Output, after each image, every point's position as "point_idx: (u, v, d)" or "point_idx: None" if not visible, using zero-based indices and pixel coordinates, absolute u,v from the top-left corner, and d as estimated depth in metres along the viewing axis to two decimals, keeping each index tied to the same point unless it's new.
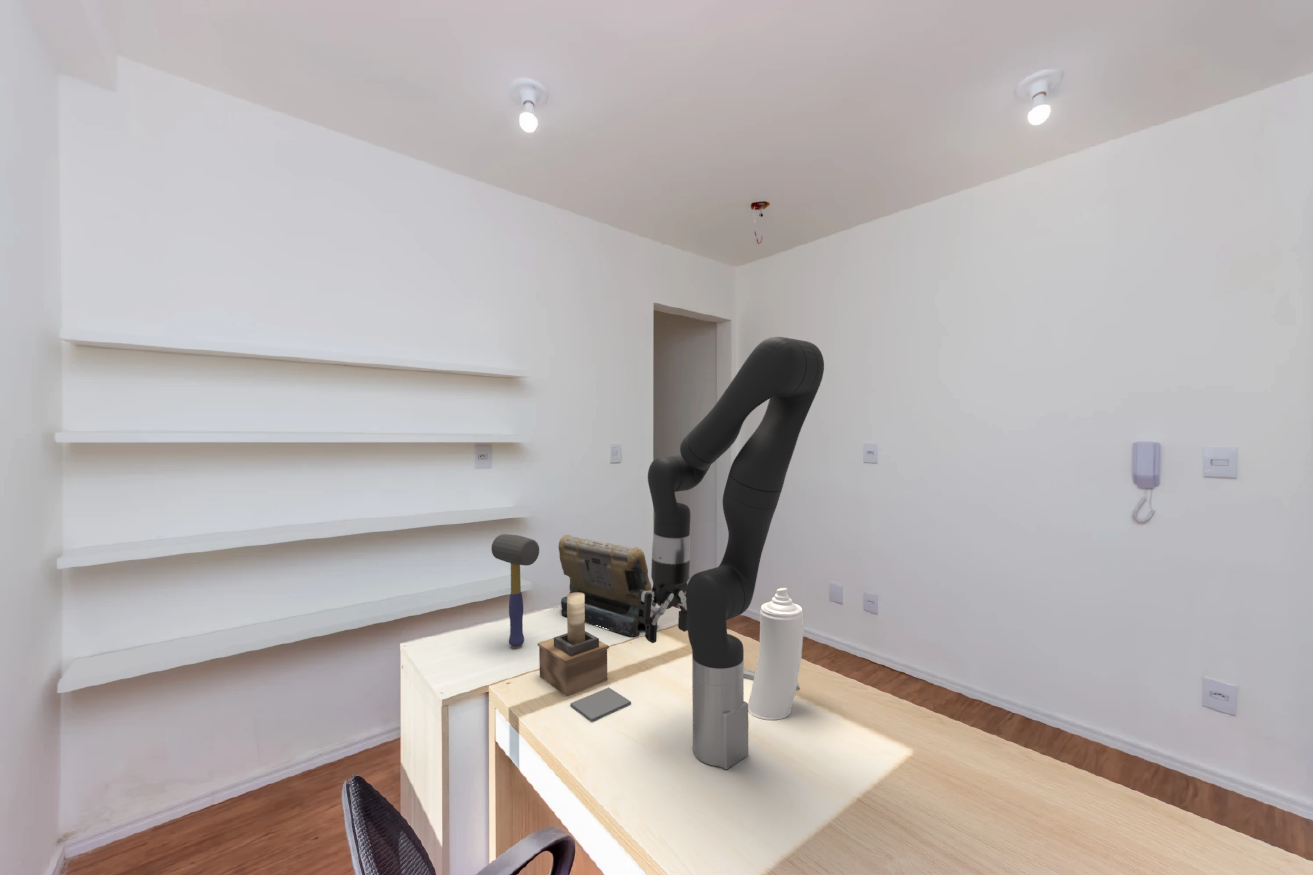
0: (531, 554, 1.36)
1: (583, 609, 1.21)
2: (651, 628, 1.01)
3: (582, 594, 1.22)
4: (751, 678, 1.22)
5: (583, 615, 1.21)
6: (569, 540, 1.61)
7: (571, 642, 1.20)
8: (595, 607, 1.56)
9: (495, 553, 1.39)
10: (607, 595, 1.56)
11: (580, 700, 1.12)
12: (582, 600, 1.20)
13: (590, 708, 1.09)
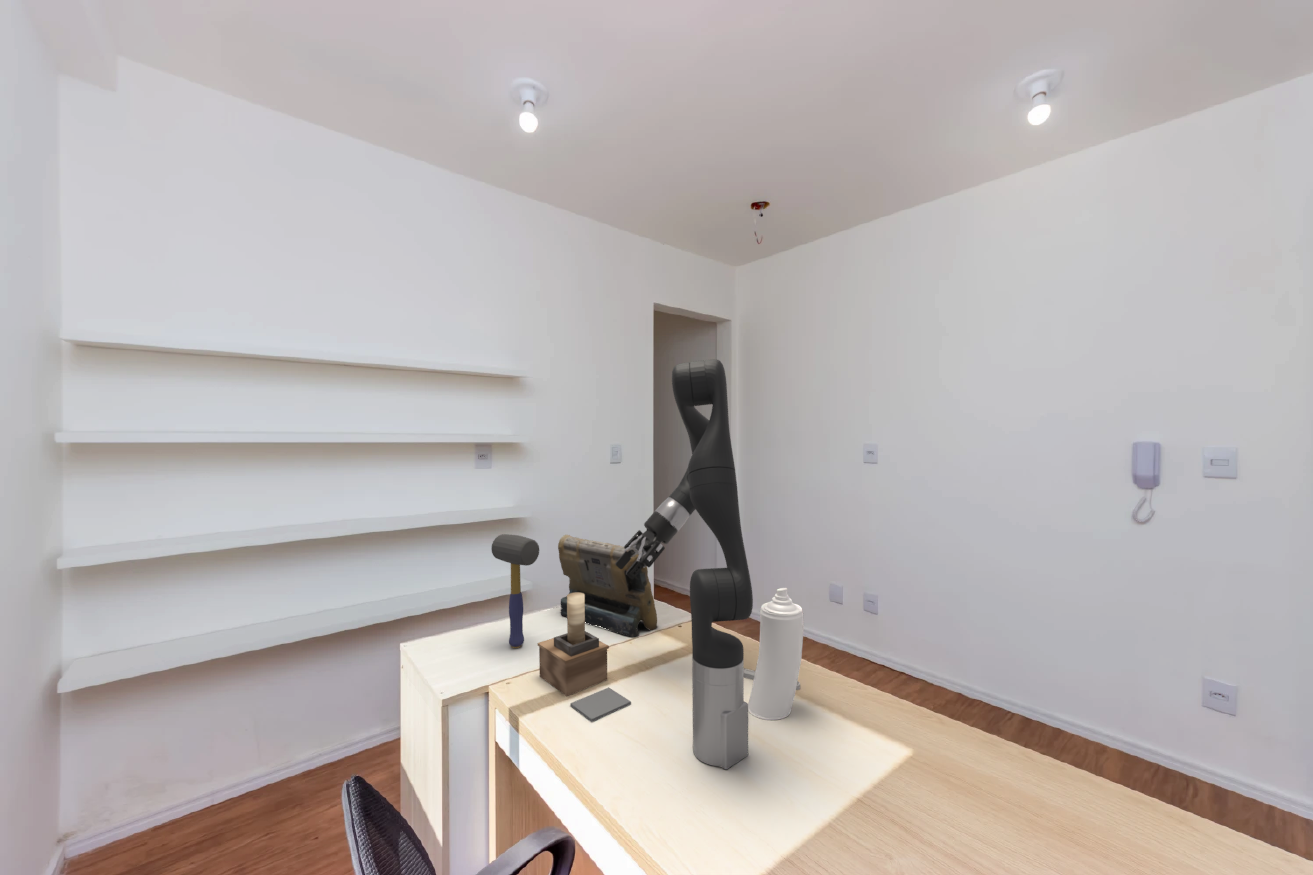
0: (531, 554, 1.36)
1: (583, 609, 1.21)
2: (623, 554, 1.30)
3: (582, 594, 1.22)
4: (753, 678, 1.22)
5: (583, 615, 1.21)
6: (569, 540, 1.61)
7: (571, 642, 1.20)
8: (595, 607, 1.56)
9: (495, 553, 1.39)
10: (607, 595, 1.56)
11: (580, 700, 1.12)
12: (582, 600, 1.20)
13: (590, 708, 1.09)
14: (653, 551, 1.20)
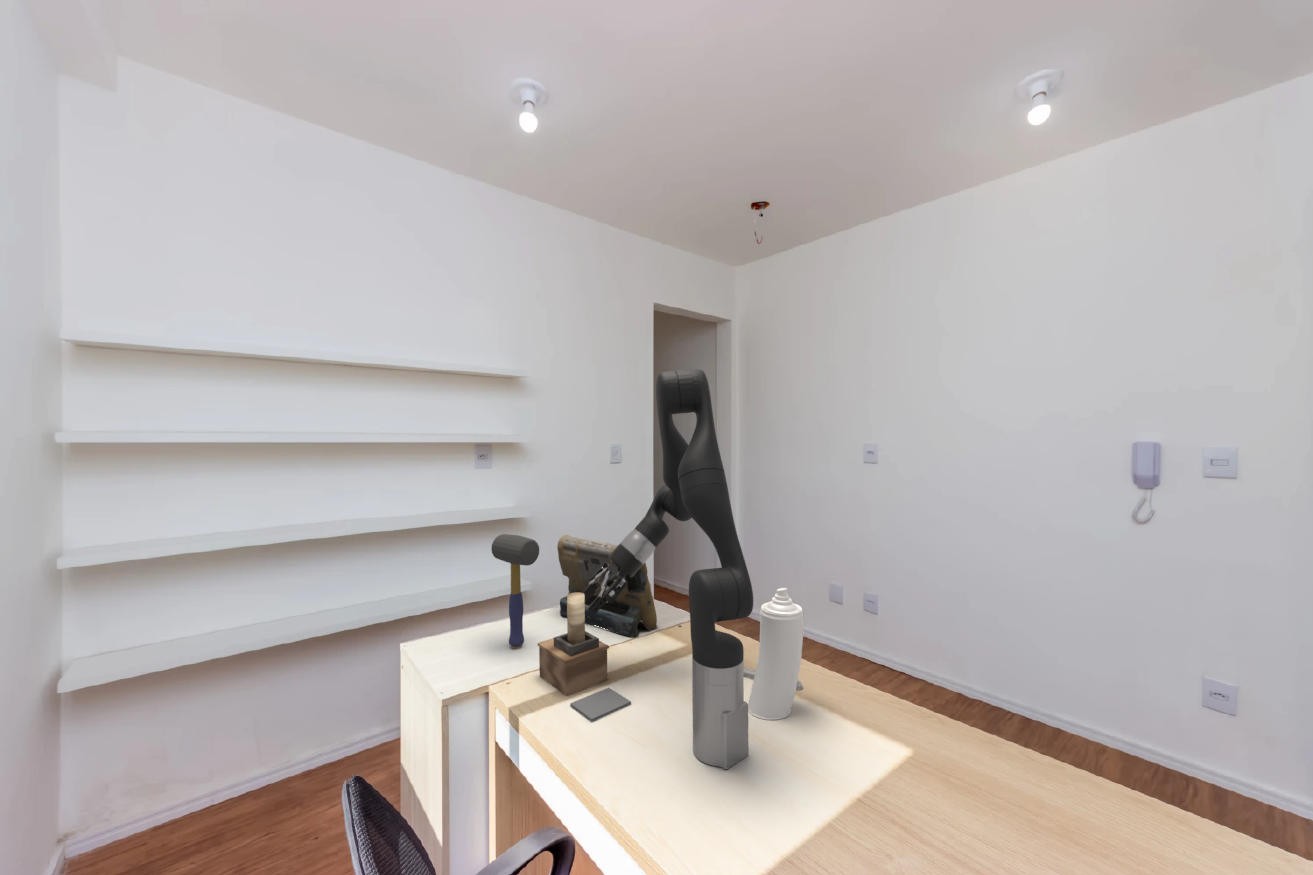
0: (531, 554, 1.36)
1: (583, 609, 1.21)
2: None
3: (582, 594, 1.22)
4: None
5: (583, 615, 1.21)
6: (568, 540, 1.61)
7: (571, 642, 1.20)
8: None
9: (495, 553, 1.39)
10: None
11: (580, 700, 1.12)
12: (582, 600, 1.20)
13: (590, 708, 1.09)
14: (615, 587, 1.17)
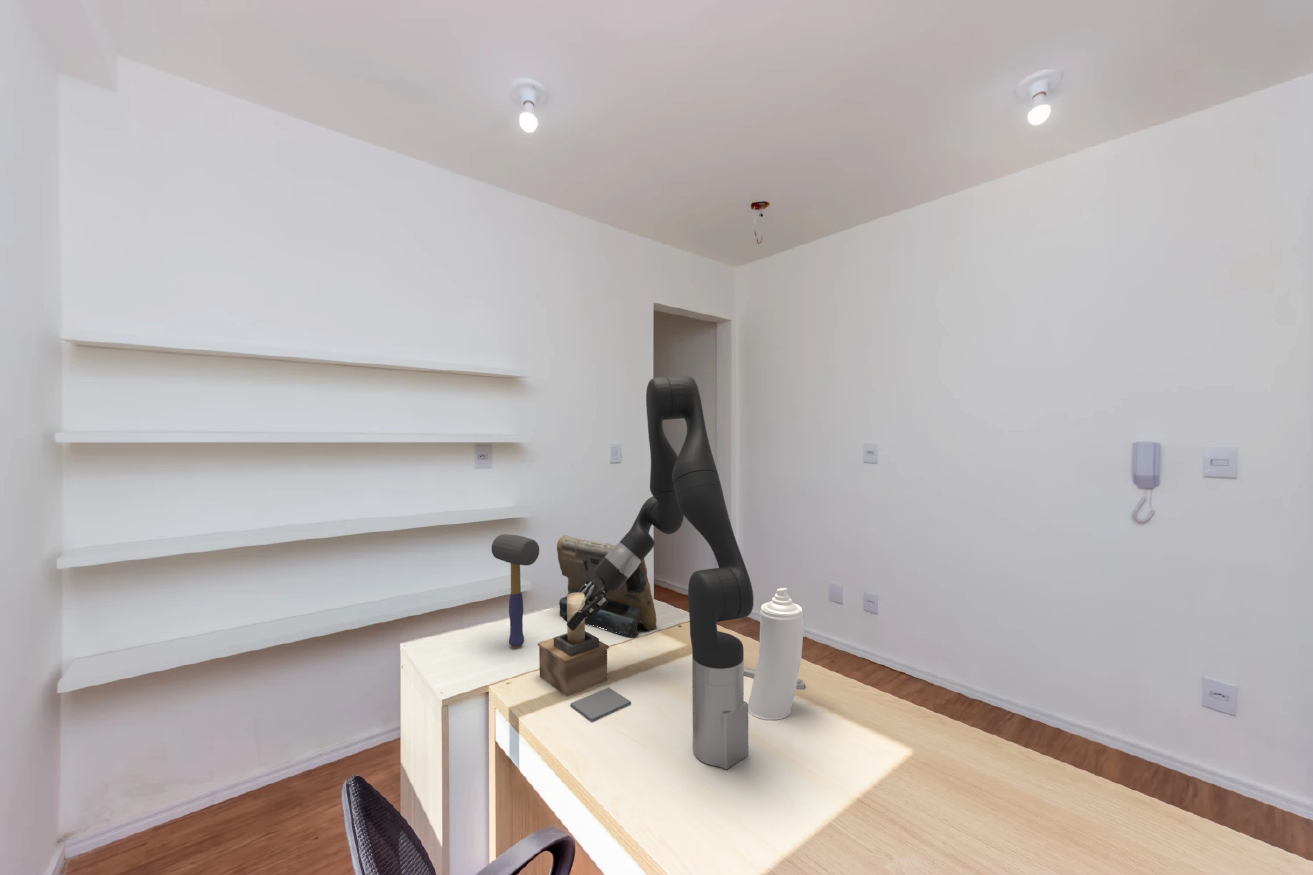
0: (531, 554, 1.36)
1: None
2: None
3: (582, 594, 1.22)
4: None
5: None
6: (568, 540, 1.61)
7: (571, 642, 1.20)
8: None
9: (495, 553, 1.39)
10: None
11: (580, 700, 1.12)
12: (582, 600, 1.20)
13: (590, 708, 1.09)
14: (594, 605, 1.17)
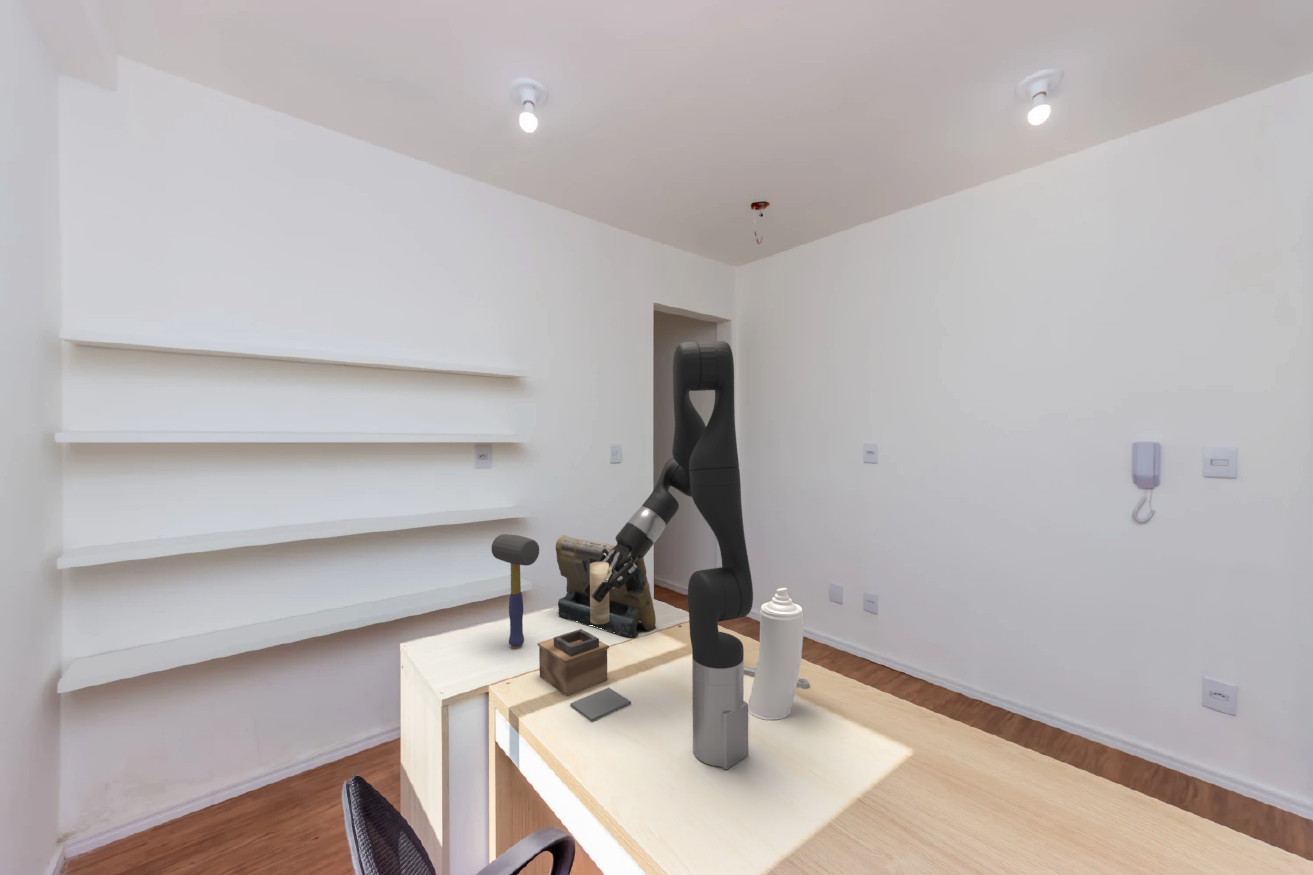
0: (531, 554, 1.36)
1: None
2: None
3: (606, 563, 1.11)
4: None
5: None
6: (567, 540, 1.60)
7: (596, 616, 1.09)
8: None
9: (495, 553, 1.39)
10: None
11: (580, 700, 1.12)
12: None
13: (590, 708, 1.09)
14: (624, 573, 1.07)
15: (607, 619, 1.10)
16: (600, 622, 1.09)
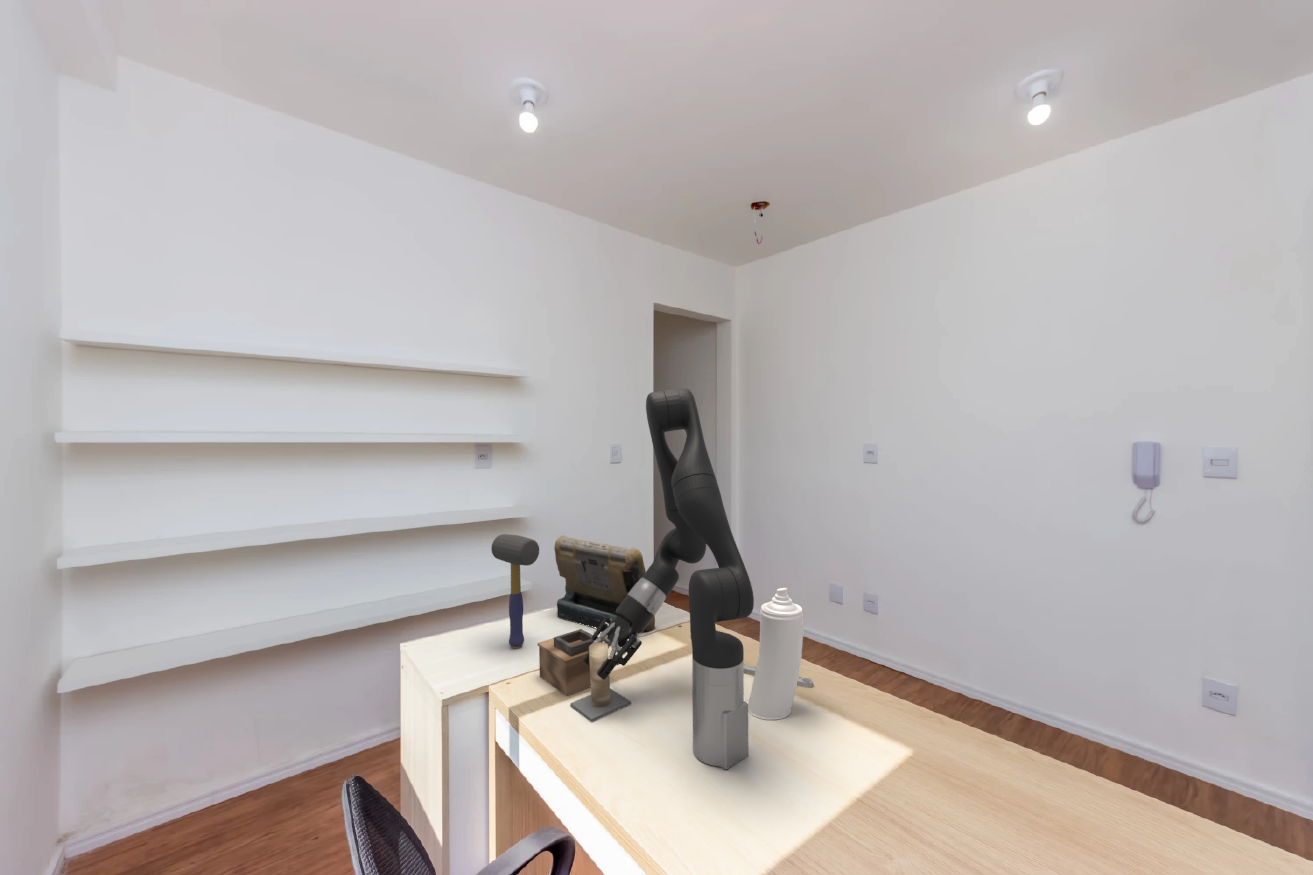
0: (531, 554, 1.36)
1: None
2: None
3: (605, 644, 1.11)
4: None
5: None
6: (566, 541, 1.60)
7: (597, 699, 1.09)
8: (592, 608, 1.55)
9: (495, 553, 1.39)
10: (604, 596, 1.55)
11: (580, 700, 1.12)
12: (607, 652, 1.10)
13: (590, 708, 1.09)
14: (629, 648, 1.07)
15: (608, 701, 1.10)
16: (601, 705, 1.09)
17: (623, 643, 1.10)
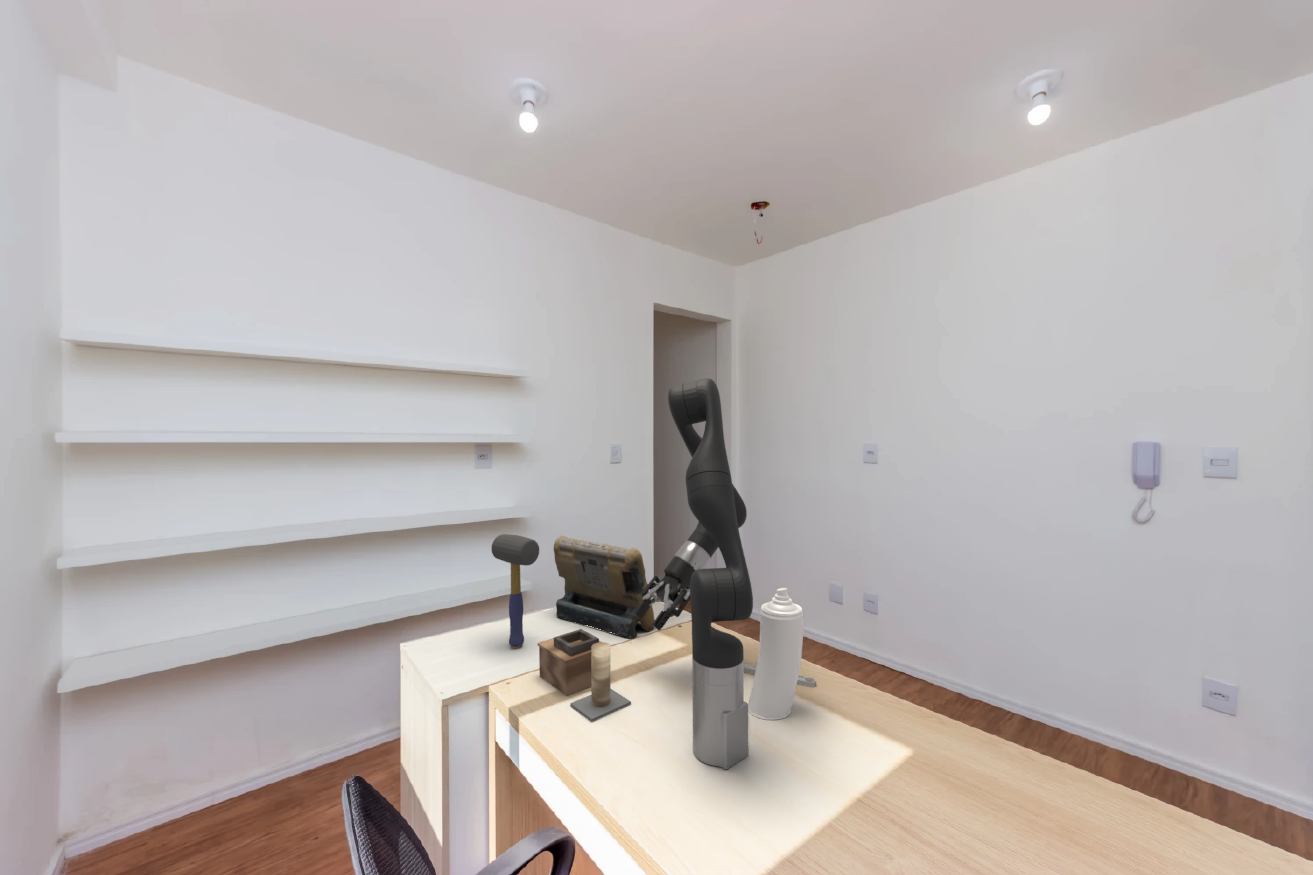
0: (531, 554, 1.36)
1: (609, 661, 1.10)
2: (641, 603, 1.24)
3: (607, 644, 1.11)
4: None
5: (609, 668, 1.10)
6: (565, 541, 1.60)
7: (597, 699, 1.09)
8: (591, 609, 1.55)
9: (495, 553, 1.39)
10: (603, 596, 1.55)
11: (580, 700, 1.12)
12: (609, 652, 1.10)
13: (590, 708, 1.09)
14: (681, 599, 1.16)
15: (608, 701, 1.10)
16: (601, 705, 1.09)
17: (674, 598, 1.19)
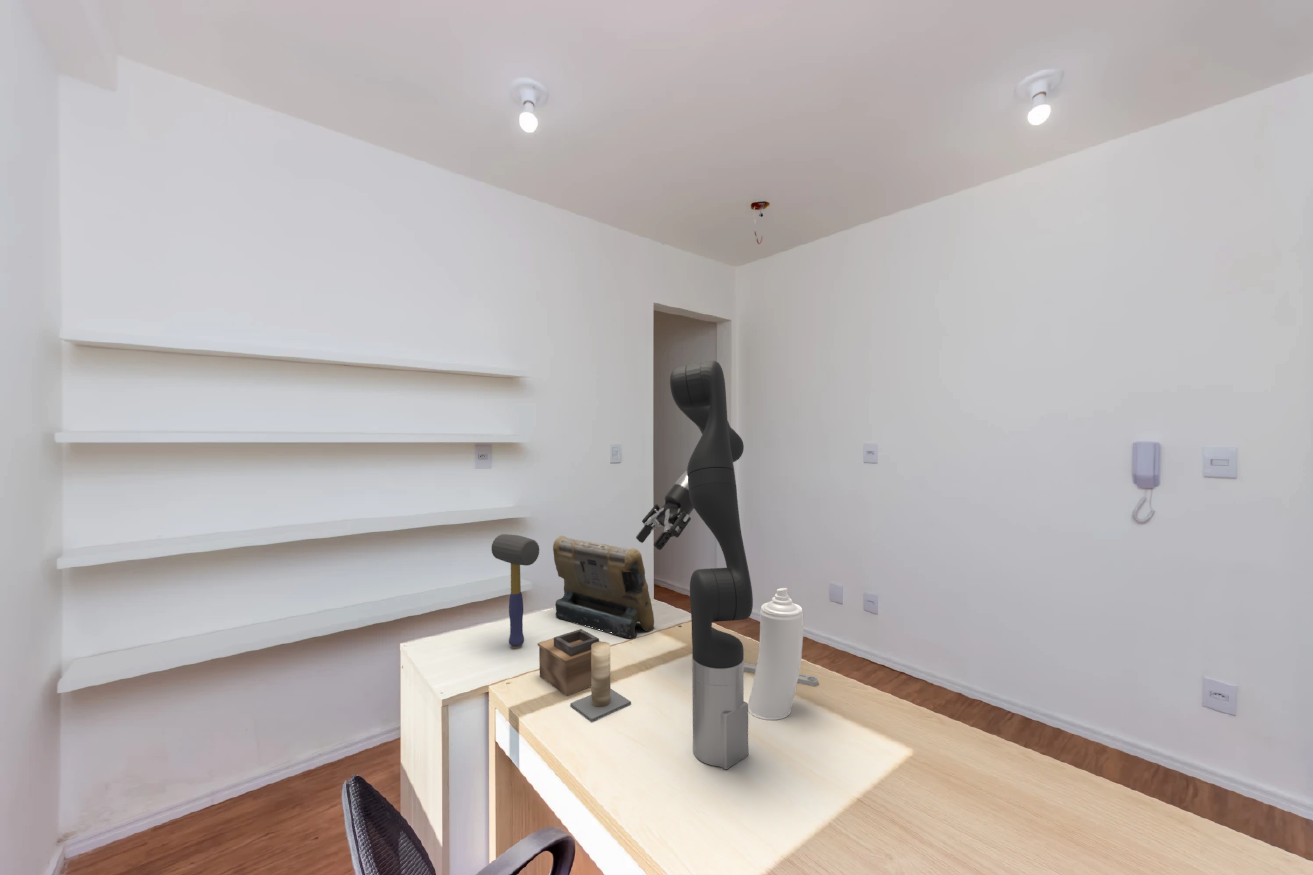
0: (531, 554, 1.36)
1: (609, 660, 1.11)
2: (643, 528, 1.31)
3: (607, 644, 1.12)
4: None
5: (609, 667, 1.11)
6: (564, 541, 1.59)
7: (597, 698, 1.09)
8: (591, 609, 1.54)
9: (495, 553, 1.39)
10: (603, 596, 1.54)
11: (580, 700, 1.12)
12: (609, 651, 1.10)
13: (590, 708, 1.09)
14: (681, 521, 1.22)
15: (608, 701, 1.10)
16: (601, 704, 1.09)
17: (673, 521, 1.26)
